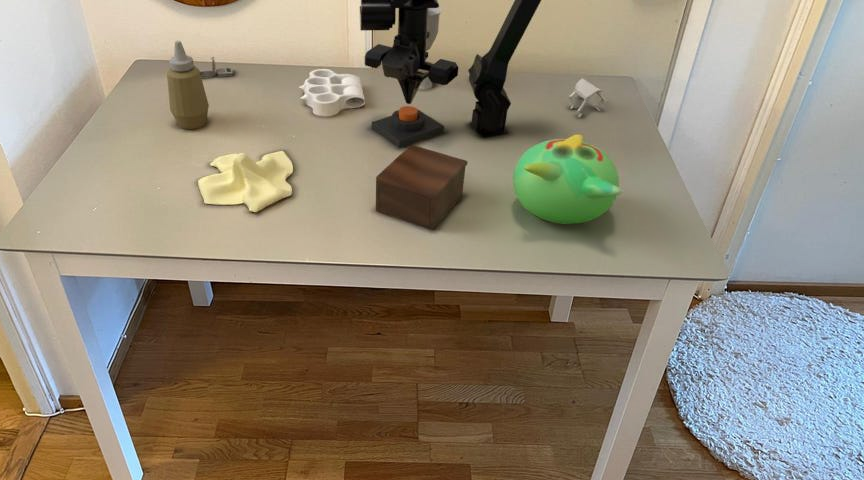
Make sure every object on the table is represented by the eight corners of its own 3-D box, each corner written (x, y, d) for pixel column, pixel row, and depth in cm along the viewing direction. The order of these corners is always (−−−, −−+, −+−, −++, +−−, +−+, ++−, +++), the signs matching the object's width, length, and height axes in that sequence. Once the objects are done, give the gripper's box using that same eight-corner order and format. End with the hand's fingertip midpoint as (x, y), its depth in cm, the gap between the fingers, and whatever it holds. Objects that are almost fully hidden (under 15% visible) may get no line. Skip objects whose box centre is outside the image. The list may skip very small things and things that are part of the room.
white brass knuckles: (366, 115, 152) (300, 118, 151) (358, 80, 166) (297, 82, 164) (366, 101, 150) (299, 104, 149) (358, 67, 164) (297, 69, 162)
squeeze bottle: (184, 136, 144) (169, 53, 132) (166, 122, 148) (149, 40, 137) (218, 124, 148) (206, 43, 136) (199, 111, 152) (186, 31, 141)
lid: (411, 148, 129) (411, 144, 129) (467, 164, 125) (467, 160, 124) (375, 180, 120) (375, 176, 119) (435, 199, 116) (435, 196, 115)
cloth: (281, 217, 122) (278, 188, 118) (181, 206, 124) (175, 177, 120) (310, 154, 139) (309, 127, 135) (223, 145, 141) (219, 118, 137)
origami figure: (610, 117, 154) (615, 97, 151) (574, 119, 153) (579, 98, 150) (590, 93, 163) (594, 74, 160) (556, 95, 162) (560, 75, 159)
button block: (415, 114, 153) (416, 100, 151) (443, 132, 147) (445, 118, 145) (371, 129, 148) (371, 114, 145) (399, 148, 141) (399, 133, 139)
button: (409, 111, 147) (410, 104, 146) (421, 119, 145) (421, 111, 144) (394, 116, 146) (395, 109, 144) (406, 124, 143) (406, 116, 142)
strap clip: (232, 71, 169) (230, 54, 166) (233, 76, 167) (231, 59, 164) (197, 74, 167) (194, 57, 164) (197, 79, 165) (195, 62, 162)
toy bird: (607, 197, 129) (627, 127, 120) (609, 251, 116) (631, 177, 107) (511, 183, 132) (523, 114, 122) (503, 235, 119) (515, 162, 110)
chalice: (409, 77, 168) (413, 3, 156) (437, 79, 167) (443, 5, 156) (406, 90, 162) (409, 14, 151) (434, 92, 162) (440, 16, 150)
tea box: (407, 178, 133) (409, 149, 128) (462, 196, 128) (465, 166, 124) (375, 210, 124) (375, 180, 120) (432, 230, 120) (435, 200, 116)
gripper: (349, 32, 131) (350, 107, 141) (437, 53, 124) (431, 130, 134) (378, 15, 139) (377, 87, 149) (462, 33, 132) (455, 108, 142)
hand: (409, 103), depth 143 cm, fingers closed
